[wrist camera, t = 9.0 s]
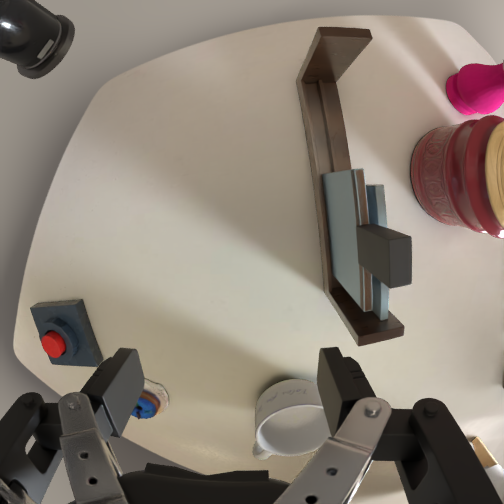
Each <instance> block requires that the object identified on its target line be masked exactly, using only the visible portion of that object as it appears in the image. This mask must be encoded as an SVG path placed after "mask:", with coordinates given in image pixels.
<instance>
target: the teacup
mask: <svg viewBox="0 0 504 504" xmlns="http://www.w3.org/2000/svg"><path fill="white" fill-rule="evenodd" d="M255 424H256V432H255V438H256V442H255V444H254V446H253V451H252V452H253V455H254V457H255V458H257V459H260V460H265V459H267V458H269V457H270V455H271V454H275V455H280V456H298V455H303V454H307V453H310V452H313V451H315V450H317V449H319V448H320V447H321V446H322V444H323V443H324V442H325V440H326V439H327V438H328V437H331V433H330V430H329V426H328V423H327V419H326V416H325V412H324V409H323V405H322V402H321V399H320V395H319V392H318V387H317V384H315V383H313V382H311V381H308V380H303V379H290V380H285V381H282V382H279V383H276V384H274V385H273V386H271V387H269V388H268V389H267V390H266V391H265V392H264V393H263V394H262V395H261V396H260V398H259V400H258V402H257V405H256V410H255ZM262 449H263V450H262Z"/></svg>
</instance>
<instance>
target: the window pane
mask: <svg viewBox="0 0 504 504" xmlns="http://www.w3.org/2000/svg"><path fill="white" fill-rule="evenodd" d="M322 178H323V186H324V194H325V202H326V211H327V220H328V230H329V240H330V251H331V263H332V274H333V275H334V277H335V278H336V279H337V280H338V281H339V282H340V284H341V285H342V286H343V287H344V288H345V290H346V291H347V292H348V293H349V294H350V295H351V297H352V298H353V299H354V300H355V301H356V303H357V304H358V305H359V306H360V307H361V309H362V310H363V311H364V312H365V311H370V310H372V275H374V276H375V277H376V278H377V279H379V280H380V281H381V282H382V283H384V284H385V285H386V286H387V287H388V288H390V289H391V288H396V287H400V286H405V285H410V284H411V283H412V241H411V236H408V235H405V234H403V233H400V232H397V231H394V230H391V229H389V228H386V227H383V226H380V225H377V224H374V223H373V224H369V214H368V203H367V193H366V185H365V176H364V169H363V168H362V169H352V170H345V171H339V172H333V173H327V174H322Z"/></svg>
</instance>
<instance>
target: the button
mask: <svg viewBox="0 0 504 504" xmlns="http://www.w3.org/2000/svg"><path fill="white" fill-rule="evenodd" d="M42 346H43V348H44V350H45V352H46V353H47V354H48V355H49V356H51V357H53V358H58V357H59V356H60V355H61V354H62V353H63V352H64V351H65V350H66V344H65V341H64V339H63V338H62V337H61V335H60V334H59V333H57V332H55V331H50V332H49V333H47V334H46V335H45V336H44V337H43V338H42Z"/></svg>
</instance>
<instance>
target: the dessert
mask: <svg viewBox="0 0 504 504" xmlns="http://www.w3.org/2000/svg"><path fill="white" fill-rule="evenodd" d="M144 380H145V383H144V389H143V391H142V393H141V395H140V397H139V399H138V401H137V403H136V405H135V407H134V410H133V412H132V414H131V415H132V416H135V417H137V418H138V419H140V418H145V419H147V418H151V417H154V416H155V415H156V414H159V413H161V412H163V411H164V410H165V409H166V408H167V406H168V404H169V399H168V395H167V394H166V392H165V390H164V388H163V387H162V385H160V384H155V383H152V382H150V381H149V380H148V379H144Z"/></svg>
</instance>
